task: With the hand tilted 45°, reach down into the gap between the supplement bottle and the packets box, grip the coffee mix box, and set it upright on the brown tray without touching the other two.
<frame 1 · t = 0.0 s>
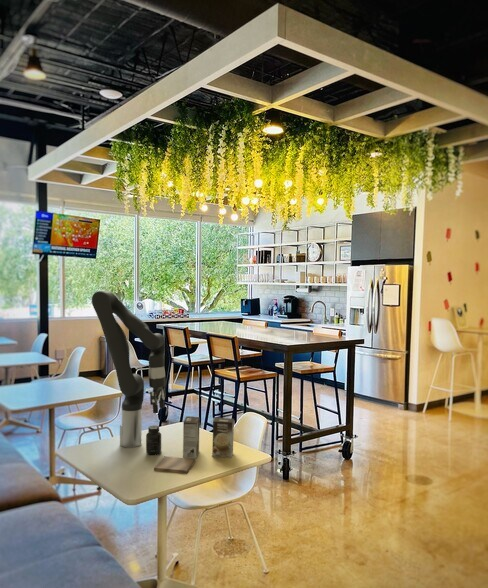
hand: (158, 410, 225), 17 cm above the table, tool pointing down, fingers open, 8 cm apart
coffee box: (191, 455, 216), on the table
brown tray: (175, 465, 203), on the table
supplement bottle: (153, 453, 217), on the table
coffee box 2: (222, 455, 217), on the table
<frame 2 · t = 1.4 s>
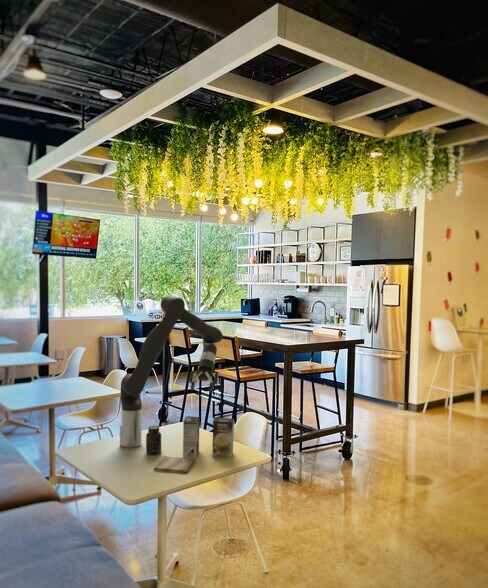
hand: (201, 390, 231), 25 cm above the table, tool tilted 45°, fingers open, 8 cm apart
nothing on the table moved.
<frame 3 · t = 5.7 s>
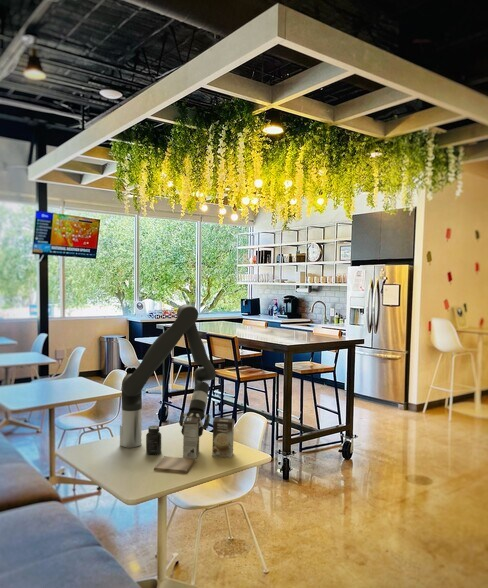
hand: (191, 435, 216), 9 cm above the table, tool tilted 45°, fingers closed on coffee box, 7 cm apart
coffee box: (191, 454, 216), on the table, touching gripper
everything else where it was.
when the fingers open (11 cm above the table, at t = 11.3 s): coffee box drops 1 cm, resting on brown tray.
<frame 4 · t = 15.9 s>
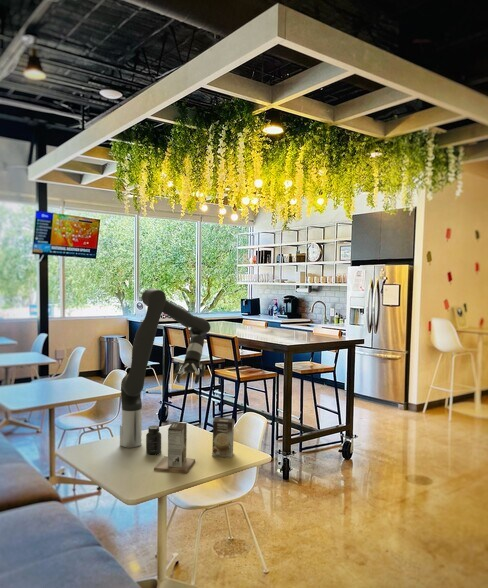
hand: (186, 382, 225), 31 cm above the table, tool tilted 45°, fingers open, 8 cm apart
coffee box: (177, 463, 203), point 1 cm above the table, touching brown tray
everything else where it was.
at the end: coffee box inside the target area on the brown tray (0.9 cm from its centre), point 1.0 cm above the brown tray's base; coffee box tilted 0°; coffee box 2 moved 0.2 cm from its start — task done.
